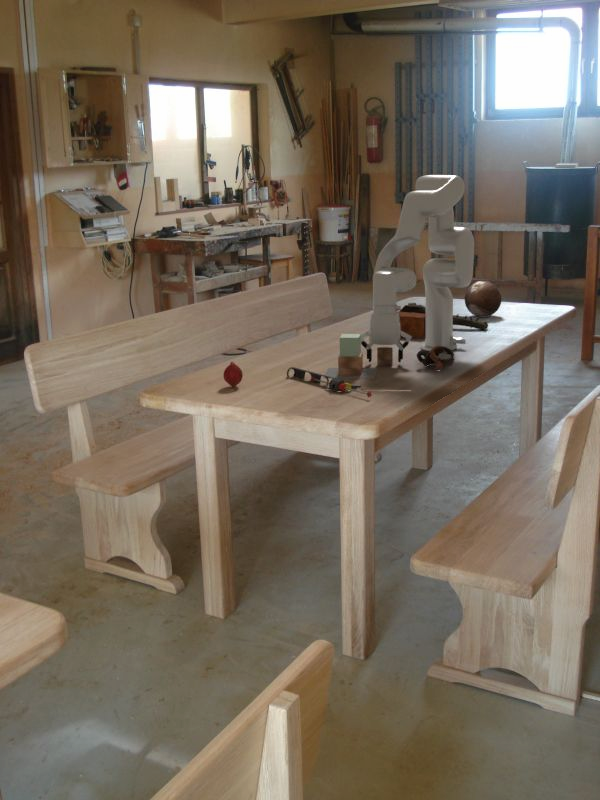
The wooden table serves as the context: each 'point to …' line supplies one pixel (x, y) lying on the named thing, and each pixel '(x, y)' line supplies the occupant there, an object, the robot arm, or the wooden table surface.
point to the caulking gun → (333, 385)
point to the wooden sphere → (483, 298)
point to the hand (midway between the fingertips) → (384, 361)
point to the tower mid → (350, 345)
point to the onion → (233, 374)
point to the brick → (412, 324)
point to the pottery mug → (436, 357)
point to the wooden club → (456, 319)
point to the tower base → (350, 365)
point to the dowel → (384, 356)
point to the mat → (366, 374)
